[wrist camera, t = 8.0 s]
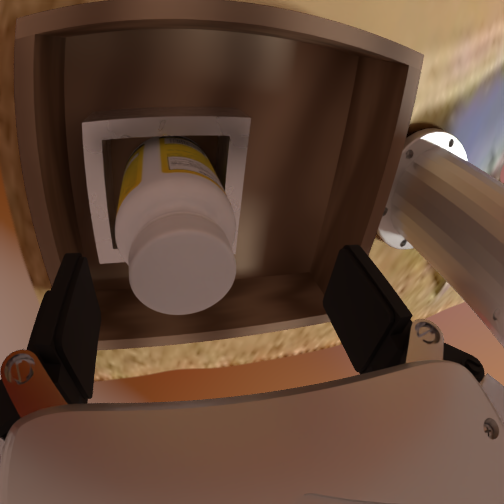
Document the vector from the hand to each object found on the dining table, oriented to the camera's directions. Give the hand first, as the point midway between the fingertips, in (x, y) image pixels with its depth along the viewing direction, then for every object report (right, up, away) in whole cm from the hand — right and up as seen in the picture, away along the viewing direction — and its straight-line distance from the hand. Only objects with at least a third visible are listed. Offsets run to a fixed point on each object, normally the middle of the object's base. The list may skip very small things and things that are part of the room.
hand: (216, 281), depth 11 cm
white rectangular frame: (-4, +6, +8) cm, 11 cm away
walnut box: (-2, +7, +9) cm, 11 cm away
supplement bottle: (-4, +6, +8) cm, 10 cm away
